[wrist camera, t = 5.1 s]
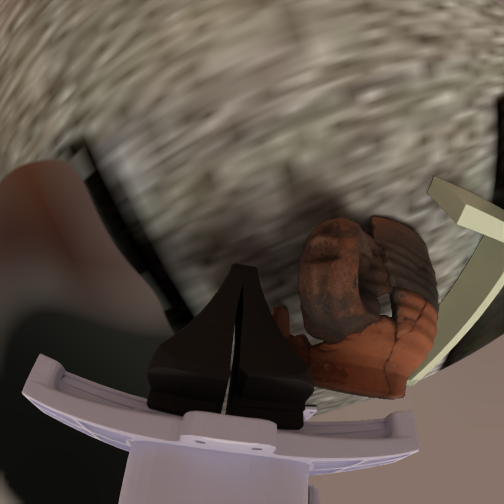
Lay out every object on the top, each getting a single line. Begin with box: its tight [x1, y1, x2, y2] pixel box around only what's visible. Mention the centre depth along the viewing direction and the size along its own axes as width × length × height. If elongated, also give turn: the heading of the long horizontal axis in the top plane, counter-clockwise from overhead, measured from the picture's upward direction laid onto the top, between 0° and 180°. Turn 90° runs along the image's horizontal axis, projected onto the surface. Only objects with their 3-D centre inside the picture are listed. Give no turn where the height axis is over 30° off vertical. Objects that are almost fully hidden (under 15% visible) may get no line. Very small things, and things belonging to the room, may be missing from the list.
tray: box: [406, 176, 504, 386], centre depth 14 cm, size 15×7×3 cm, turn 171°
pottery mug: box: [272, 217, 439, 400], centre depth 13 cm, size 12×10×8 cm
